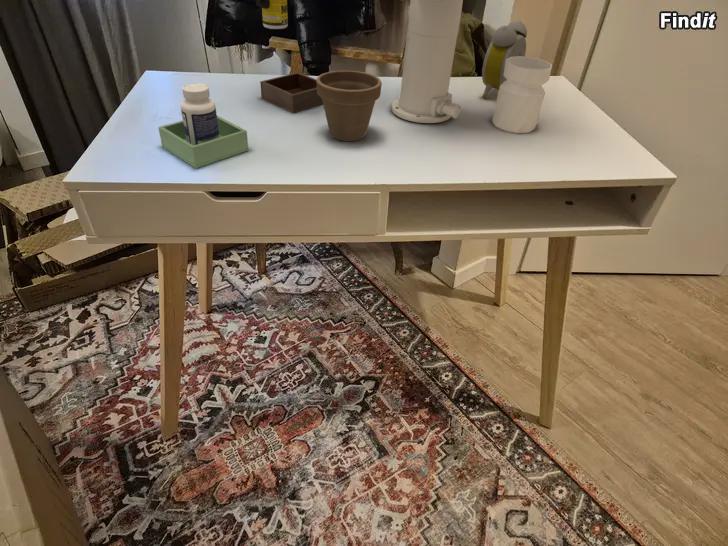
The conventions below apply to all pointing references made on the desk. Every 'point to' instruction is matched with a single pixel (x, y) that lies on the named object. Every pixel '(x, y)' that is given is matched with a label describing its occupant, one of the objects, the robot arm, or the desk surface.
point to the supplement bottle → (275, 15)
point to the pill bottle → (199, 114)
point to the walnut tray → (291, 92)
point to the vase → (521, 94)
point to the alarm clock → (502, 53)
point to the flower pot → (348, 102)
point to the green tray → (207, 152)
